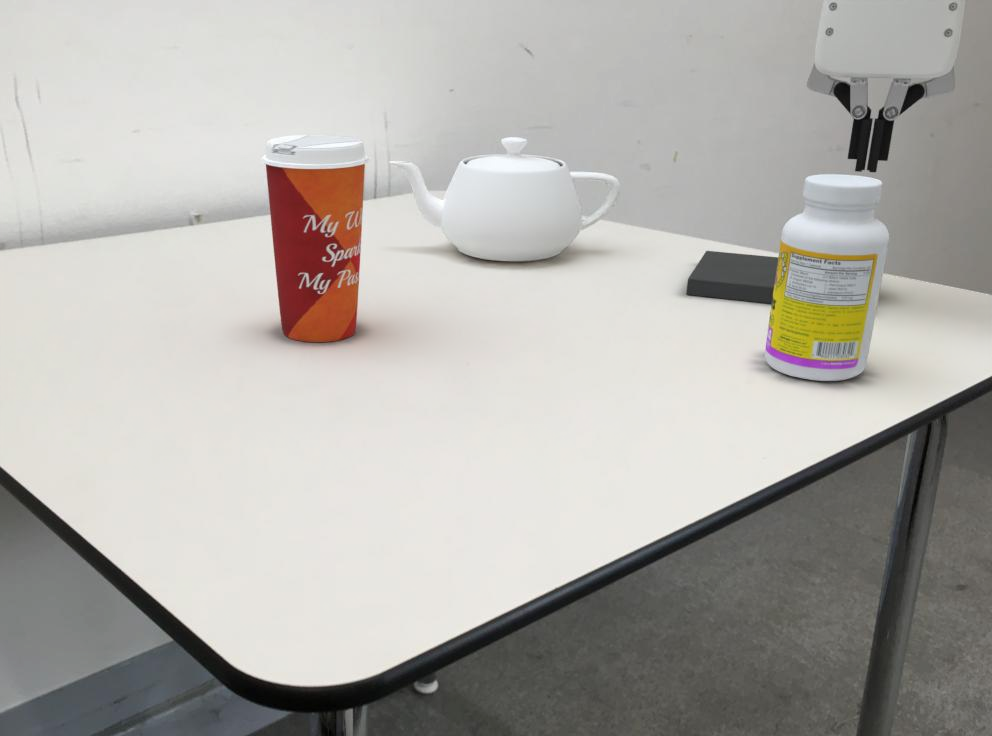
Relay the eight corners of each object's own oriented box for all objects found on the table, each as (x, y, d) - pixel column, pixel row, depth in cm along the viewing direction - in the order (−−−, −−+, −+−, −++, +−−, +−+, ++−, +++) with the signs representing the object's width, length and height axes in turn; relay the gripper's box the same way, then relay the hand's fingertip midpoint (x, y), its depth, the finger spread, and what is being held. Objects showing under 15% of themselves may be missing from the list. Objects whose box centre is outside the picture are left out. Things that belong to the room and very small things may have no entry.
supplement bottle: (792, 346, 80) (820, 167, 75) (881, 368, 75) (918, 180, 70) (744, 366, 76) (770, 178, 70) (835, 391, 71) (871, 193, 66)
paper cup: (324, 353, 78) (320, 152, 72) (246, 333, 82) (237, 141, 76) (391, 328, 83) (392, 139, 78) (315, 310, 88) (311, 130, 82)
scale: (877, 282, 97) (883, 248, 95) (876, 315, 87) (883, 278, 86) (704, 265, 102) (708, 233, 101) (685, 294, 93) (690, 259, 91)
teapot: (604, 237, 112) (613, 129, 108) (626, 270, 100) (637, 150, 95) (390, 234, 113) (391, 126, 109) (385, 267, 100) (386, 147, 96)
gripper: (1014, -83, 82) (965, 168, 89) (803, -78, 87) (773, 158, 94) (1025, -89, 75) (971, 182, 82) (796, -83, 81) (764, 171, 88)
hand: (865, 169), depth 88 cm, fingers closed
